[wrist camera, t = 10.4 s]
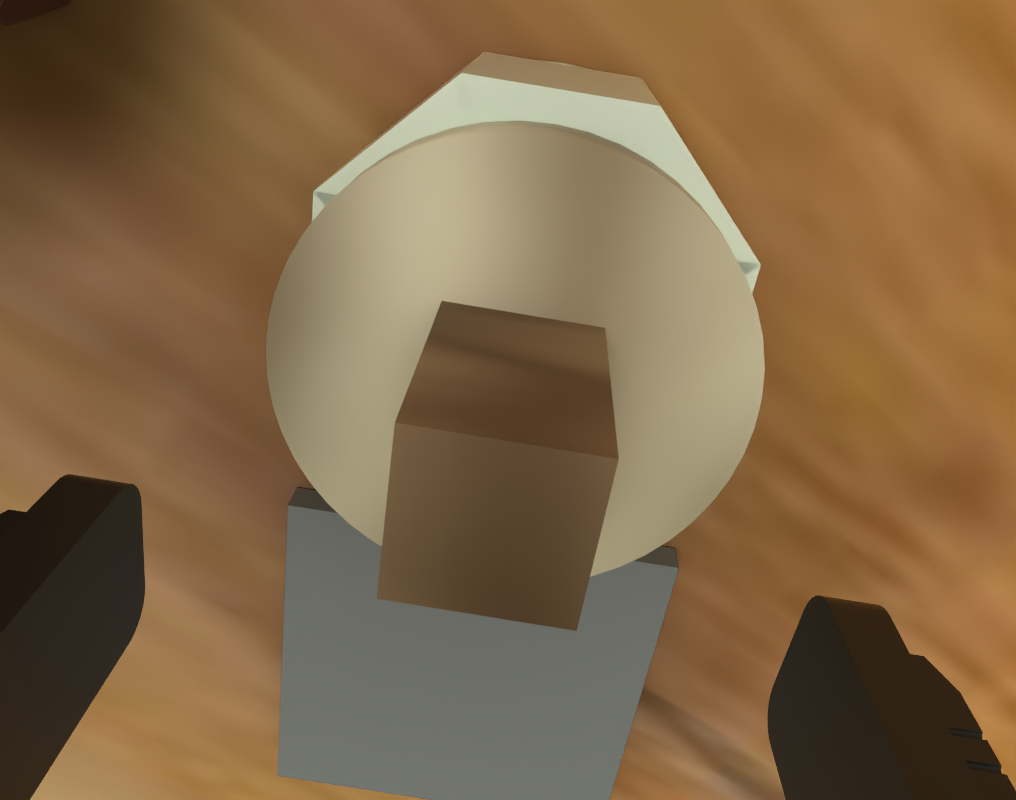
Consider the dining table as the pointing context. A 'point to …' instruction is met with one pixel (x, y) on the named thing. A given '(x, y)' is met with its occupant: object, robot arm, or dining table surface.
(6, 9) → the ice cream bowl
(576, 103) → the bowl
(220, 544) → the dining table surface
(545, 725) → the mat
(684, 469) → the lid
